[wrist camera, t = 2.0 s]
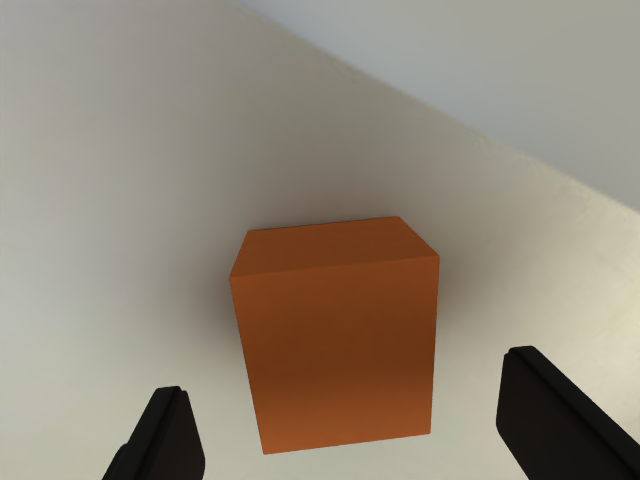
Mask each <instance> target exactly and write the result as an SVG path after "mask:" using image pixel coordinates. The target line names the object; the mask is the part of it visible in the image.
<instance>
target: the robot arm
mask: <svg viewBox="0 0 640 480" xmlns="http://www.w3.org/2000/svg"><path fill="white" fill-rule="evenodd" d="M496 427H497V430H498V432H499V434H500V436H501V438H502V439H503V441H504V442H505V444H506V445H507V447H508V448H509V450H510V451H511V453H512V454H513V456H514V457H515V459H516V460H517V462H518V464H519V465H520V467H521V468H522V470H523V471H524V473H525V474H526V476H527V477H528V479H529V480H640V445H639V444H638V443H637V442H636V441H635V440H634V439H633V438H632V437H631V436H629V435H628V434H627V433H626V432H625V431H624V430H623V429H622V428H621V427H620V426H619V425H618V424H617V423H616V422H614V421H613V420H612V419H611V418H610V417H609V416H608V415H607V414H606V413H605V412H604V411H603V410H602V409H601V408H599V407H598V406H597V405H596V404H595V403H594V402H593V401H592V400H591V399H590V398H589V397H588V396H587V395H586V394H584V393H583V392H582V391H581V390H580V389H579V388H578V387H577V386H576V385H575V384H574V383H573V382H572V381H571V380H570V379H568V378H567V377H566V376H565V375H564V374H563V373H562V372H561V371H560V370H559V369H558V368H557V367H556V366H555V365H553V364H552V363H551V362H550V361H549V360H548V359H547V358H546V357H545V356H544V355H543V354H542V353H541V352H540V351H538V350H537V349H536V348H535V347H534V346H521V347H513V348H510V349H509V352H508V353H507V354H505V355H504V360H503V368H502V376H501V384H500V392H499V399H498V407H497V415H496ZM204 470H205V456H204V452H203V448H202V445H201V441H200V437H199V434H198V430H197V426H196V423H195V419H194V415H193V412H192V408H191V404H190V401H189V397H188V393H187V391H185V390H184V391H182V390H181V388H180V387H179V386H171V387H163V388H157V389H156V390H155V392H154V393H153V395H152V397H151V399H150V401H149V403H148V405H147V407H146V408H145V410H144V412H143V414H142V416H141V418H140V420H139V422H138V424H137V426H136V427H135V429H134V431H133V433H132V435H131V437H130V439H129V441H128V443H126V444H124V445H123V446H121V447H120V448H119V450H118V451H117V453H116V454H115V456H114V458H113V460H112V462H111V464H110V466H109V467H108V469H107V471H106V473H105V475H104V477H103V478H102V480H202V479H203V475H204Z"/></svg>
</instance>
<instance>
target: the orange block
mask: <svg viewBox="0 0 640 480" xmlns="http://www.w3.org/2000/svg"><path fill="white" fill-rule="evenodd" d="M439 258H440V257H439V255H438V254H437V253H436V252H435V251H434V250H433V249H432V248H431V247H430V246H429V245H428V244H427V243H426V242H424V241H423V240H422V239H421V238H420V237H419V236H418V235H417V234H416V233H415V232H414V231H413V230H412V229H411V228H410V227H409V226H408V225H407V224H406V223H405V222H404V221H403V220H402V219H401V218H400V217H390V218H379V219H369V220H359V221H349V222H339V223H329V224H318V225H308V226H298V227H288V228H278V229H267V230H257V231H248V232H247V234H246V237H245V239H244V242H243V244H242V247H241V249H240V252H239V254H238V257H237V259H236V262H235V264H234V267H233V269H232V272H231V274H230V277H229V282H230V287H231V292H232V297H233V302H234V307H235V313H236V318H237V323H238V328H239V333H240V338H241V343H242V348H243V353H244V358H245V363H246V368H247V373H248V378H249V384H250V389H251V394H252V399H253V404H254V409H255V414H256V419H257V424H258V429H259V434H260V439H261V444H262V450H263V454H265V455H266V454H274V453H282V452H290V451H298V450H306V449H314V448H322V447H330V446H338V445H346V444H353V443H361V442H369V441H377V440H385V439H393V438H401V437H409V436H417V435H425V434H430V430H431V411H432V392H433V373H434V354H435V335H436V315H437V296H438V277H439Z"/></svg>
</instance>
